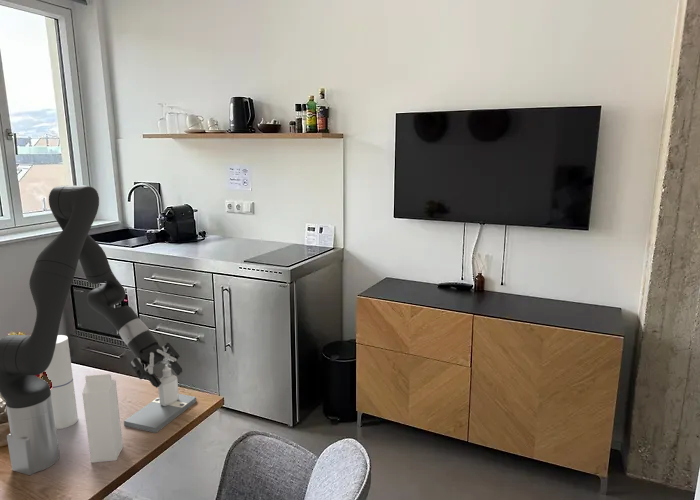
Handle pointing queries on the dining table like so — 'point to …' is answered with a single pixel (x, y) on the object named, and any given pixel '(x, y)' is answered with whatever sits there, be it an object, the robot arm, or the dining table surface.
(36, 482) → the dining table surface
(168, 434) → the dining table surface
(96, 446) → the milk
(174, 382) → the eye dropper bottle
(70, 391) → the cylindrical container
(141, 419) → the floor panel
